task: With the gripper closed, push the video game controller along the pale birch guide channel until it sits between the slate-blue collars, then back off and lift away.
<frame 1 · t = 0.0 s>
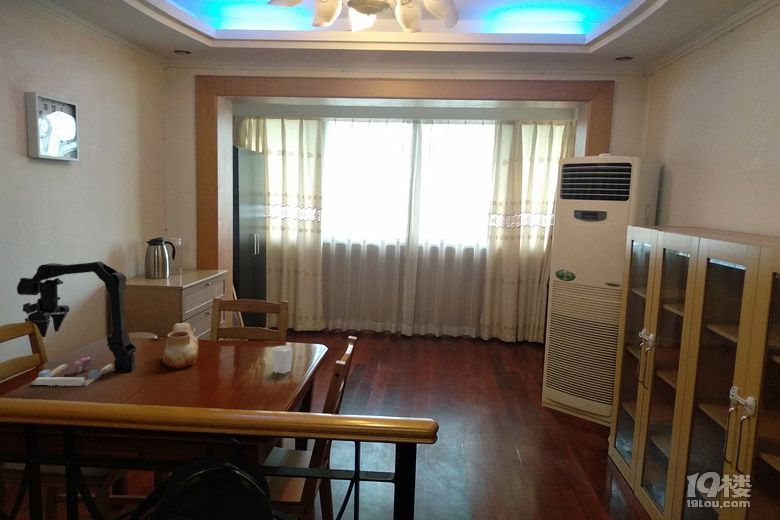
hand: (50, 334, 202), 15 cm above the table, tool pointing down, fingers open, 9 cm apart
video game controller: (81, 372, 202), on the table
ceramic vessel: (181, 360, 222), on the table
guide channel: (74, 375, 197), on the table
white cup: (282, 372, 211), on the table
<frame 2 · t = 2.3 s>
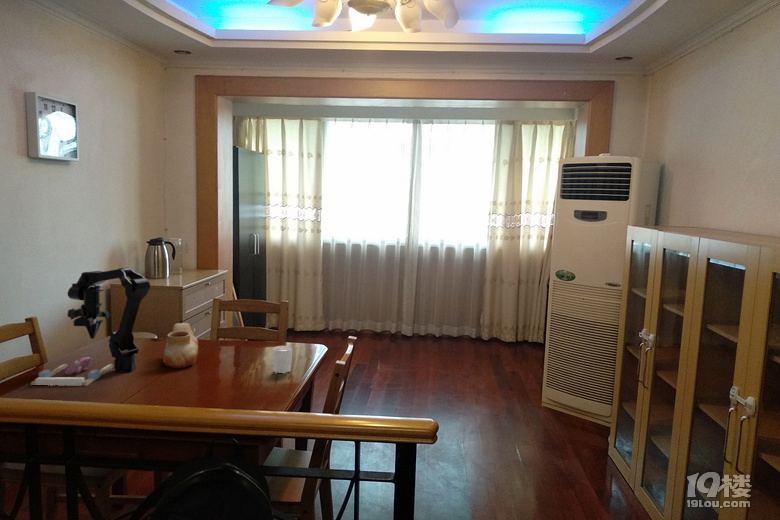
hand: (92, 338, 211), 11 cm above the table, tool pointing down, fingers closed
nothing on the table moved.
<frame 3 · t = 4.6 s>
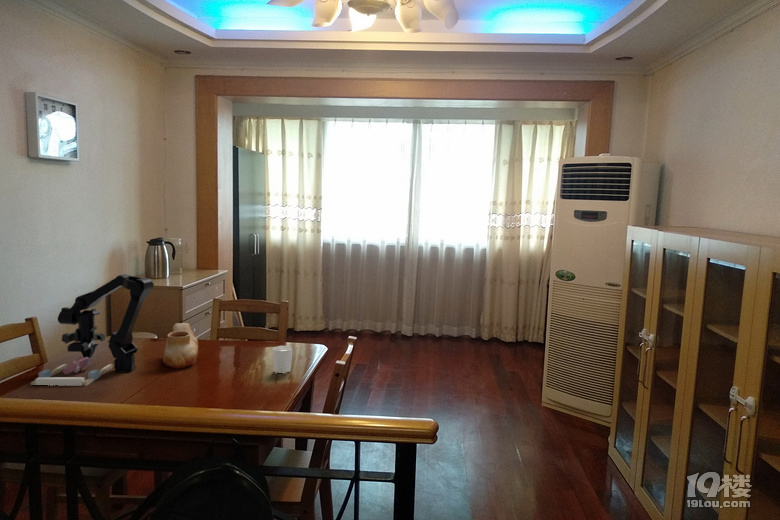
hand: (87, 362, 207), 2 cm above the table, tool pointing down, fingers closed
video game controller: (78, 372, 202), on the table, touching gripper
everything else where it was.
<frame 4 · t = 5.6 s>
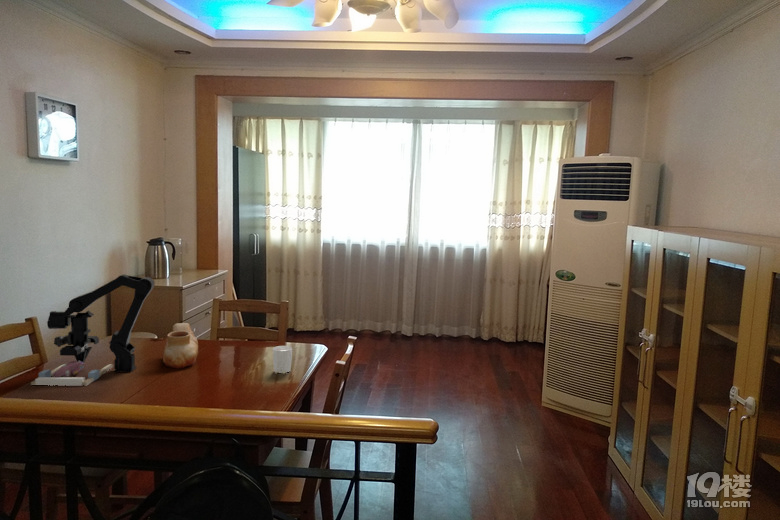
hand: (80, 366, 202), 2 cm above the table, tool pointing down, fingers closed
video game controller: (69, 376, 197), on the table, touching gripper
everything else where it was.
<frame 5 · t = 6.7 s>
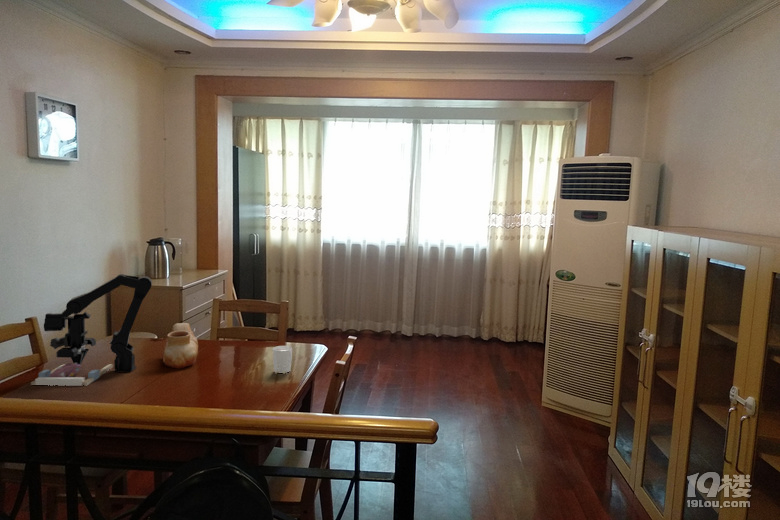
hand: (77, 368, 200), 2 cm above the table, tool pointing down, fingers closed
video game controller: (65, 378, 195), on the table, touching gripper
everything else where it was.
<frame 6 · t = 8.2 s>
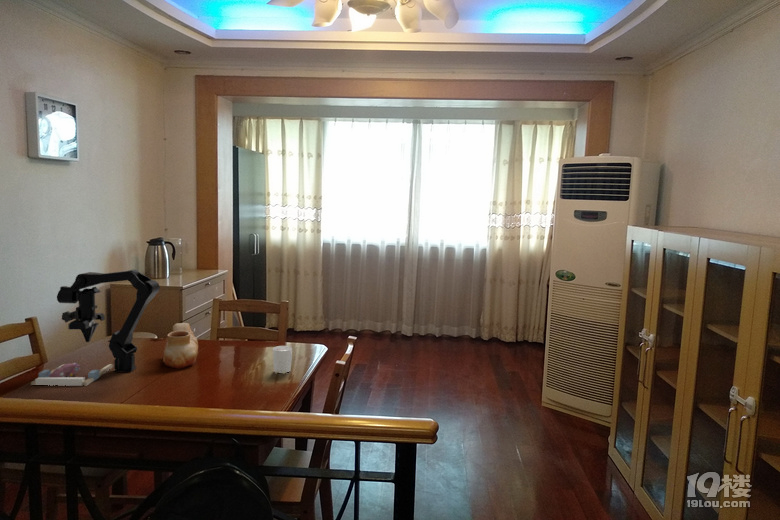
hand: (87, 341, 205), 11 cm above the table, tool pointing down, fingers closed
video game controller: (65, 378, 195), on the table
everything else where it was.
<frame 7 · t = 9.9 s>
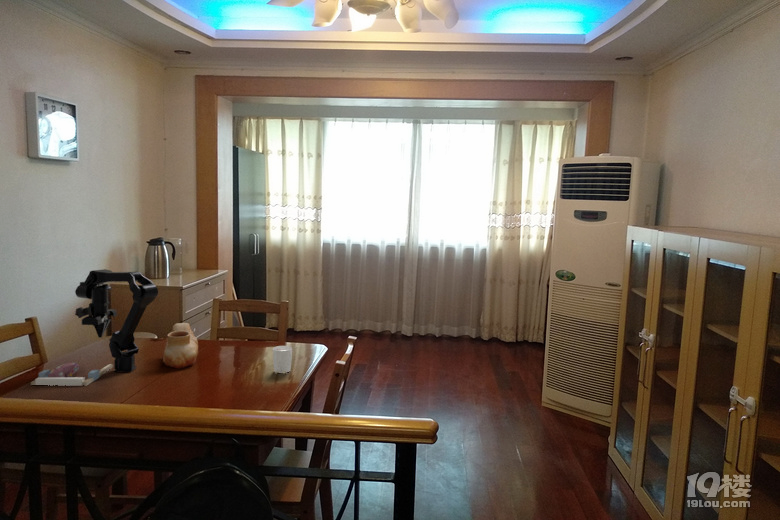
hand: (100, 337, 210), 12 cm above the table, tool pointing down, fingers closed
nothing on the table moved.
at the end: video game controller inside the target area (2.9 cm from its centre), on the table; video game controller tilted 0°; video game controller moved 7.9 cm from its start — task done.
